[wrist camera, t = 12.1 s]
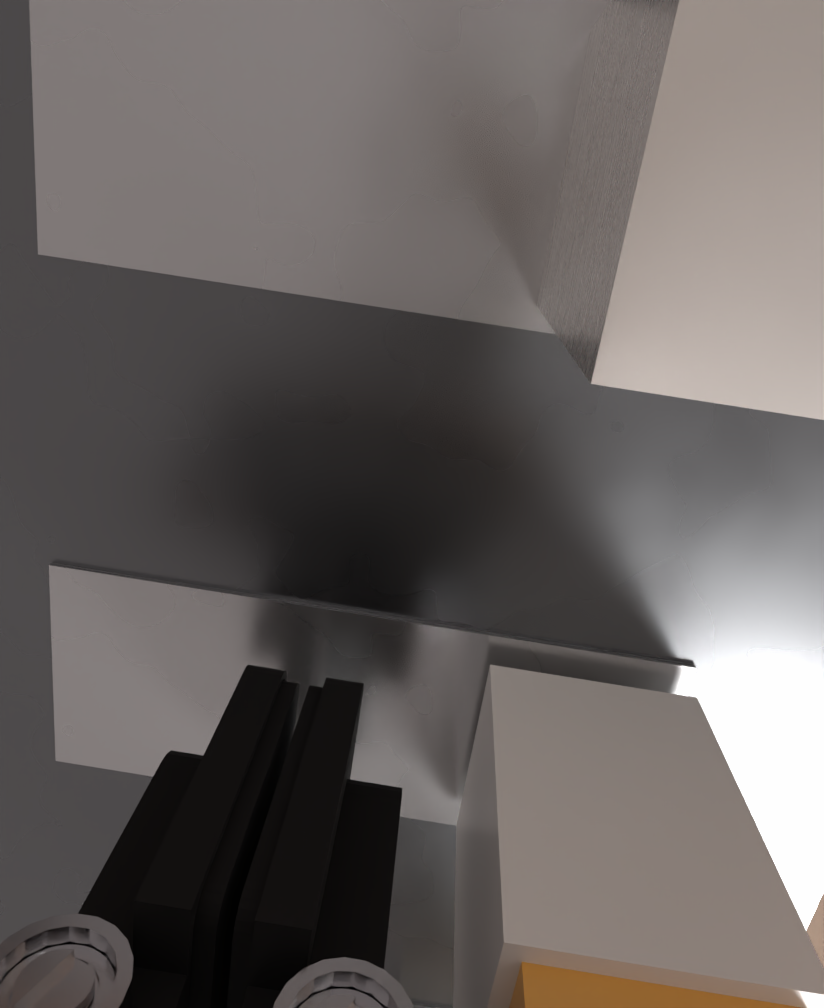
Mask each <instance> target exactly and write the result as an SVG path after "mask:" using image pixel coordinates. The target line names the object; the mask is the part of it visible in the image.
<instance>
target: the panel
mask: <svg viewBox="0 0 824 1008" xmlns="http://www.w3.org/2000/svg"><path fill="white" fill-rule="evenodd" d="M247 665H254V666H261V667H267V668H273V669H279V670H285V671H286V672H287V681H288V682H294V683H299V697H298V706H297V714H296V723H295V727H296V724H297V721H298V718H299V715H300V712H301V709H302V706H303V703H304V700H305V697H306V694H307V690H308V688H309V686H310V685H312V686H318V687H323V686H324V682H325V679H326V678H327V677H328V678H334V679H341V680H347V681H353V682H359V683H364V689H363V696H362V703H361V709H360V716H359V723H358V730H357V736H356V743H355V750H354V757H353V764H352V770H351V777H350V779H351V780H357V781H363V782H369V783H375V784H381V785H388V786H394V787H400V788H402V800H401V809H400V819H399V829H398V838H397V848H396V858H395V867H394V877H393V887H392V896H391V906H390V916H389V925H388V935H387V944H386V954H385V964H384V970H386V971H387V972H388V973H389V974H390V975H391V976H392V977H393V978H394V979H395V980H396V981H398V982H399V983H400V984H401V985H402V987H403V988H404V990H405V992H406V993H407V995H408V997H409V998H410V1000H411V1002H412V1003H413V1006H414V1008H453V988H454V932H455V876H456V825H457V820H458V815H459V810H460V806H461V801H462V796H463V791H464V787H465V782H466V777H467V772H468V768H469V763H470V758H471V753H472V748H473V744H474V739H475V734H476V729H477V725H478V720H479V715H480V710H481V706H482V701H483V696H484V691H485V687H486V682H487V677H488V672H489V668H490V665H496V666H502V667H508V668H515V669H521V670H527V671H534V672H540V673H546V674H552V675H559V676H565V677H571V678H577V679H584V680H590V681H596V682H602V683H609V684H615V685H621V686H628V687H634V688H640V689H646V690H653V691H659V692H665V693H671V694H678V695H684V696H690V697H696V698H697V699H698V701H699V703H700V705H701V707H702V709H703V711H704V714H705V716H706V718H707V720H708V722H709V724H710V726H711V728H712V731H713V733H714V735H715V737H716V739H717V741H718V743H719V746H720V748H721V750H722V752H723V754H724V756H725V758H726V761H727V763H728V765H729V767H730V769H731V771H732V773H733V775H734V778H735V780H736V782H737V784H738V786H739V788H740V790H741V793H742V795H743V797H744V799H745V801H746V803H747V805H748V808H749V810H750V812H751V814H752V816H753V818H754V820H755V822H756V825H757V827H758V829H759V831H760V833H761V835H762V837H763V840H764V842H765V844H766V846H767V848H768V850H769V852H770V855H771V857H772V859H773V861H774V863H775V865H776V867H777V869H778V872H779V874H780V876H781V878H782V880H783V882H784V884H785V887H786V889H787V891H788V893H789V895H790V897H791V899H792V902H793V904H794V906H795V908H796V910H797V912H798V914H799V916H800V919H801V921H802V923H803V925H804V927H805V929H806V930H807V928H808V926H809V923H810V921H811V919H812V917H813V915H814V912H815V910H816V908H817V906H818V904H819V901H820V899H821V897H822V895H823V893H824V0H0V944H1V943H2V942H3V941H4V940H5V939H6V938H7V937H9V936H11V935H12V934H14V933H16V932H17V931H19V930H21V929H22V928H24V927H26V926H27V925H29V924H31V923H34V922H37V921H40V920H43V919H46V918H49V917H52V916H57V915H67V914H76V913H77V914H78V912H79V911H80V909H81V907H82V905H83V903H84V901H85V900H86V898H87V896H88V894H89V892H90V891H91V889H92V887H93V885H94V883H95V881H96V880H97V878H98V876H99V874H100V872H101V871H102V869H103V867H104V865H105V863H106V861H107V860H108V858H109V856H110V854H111V852H112V851H113V849H114V847H115V845H116V843H117V841H118V840H119V838H120V836H121V834H122V832H123V830H124V829H125V827H126V825H127V823H128V821H129V820H130V818H131V816H132V814H133V812H134V810H135V809H136V807H137V805H138V803H139V801H140V800H141V798H142V796H143V794H144V792H145V790H146V789H147V787H148V785H149V783H150V781H151V780H152V778H153V776H154V774H155V772H156V770H157V769H158V767H159V765H160V763H161V761H162V760H163V758H164V757H165V755H166V754H167V753H168V752H170V751H171V750H172V751H179V752H185V753H191V754H197V755H204V753H205V751H206V749H207V747H208V745H209V743H210V741H211V739H212V736H213V734H214V732H215V730H216V728H217V726H218V724H219V722H220V720H221V718H222V716H223V713H224V711H225V709H226V707H227V705H228V703H229V701H230V699H231V697H232V695H233V693H234V690H235V688H236V686H237V684H238V682H239V680H240V678H241V676H242V674H243V672H244V670H245V668H246V666H247Z"/></svg>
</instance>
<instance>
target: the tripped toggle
mask: <svg viewBox="0 0 824 1008" xmlns="http://www.w3.org/2000/svg"><path fill="white" fill-rule="evenodd" d="M453 1008H824V968H823V966H822V964H821V961H820V959H819V957H818V955H817V953H816V951H815V949H814V946H813V944H812V942H811V940H810V938H809V936H808V934H807V931H806V929H805V927H804V925H803V923H802V921H801V919H800V916H799V914H798V912H797V910H796V908H795V906H794V904H793V902H792V899H791V897H790V895H789V893H788V891H787V889H786V887H785V884H784V882H783V880H782V878H781V876H780V874H779V872H778V869H777V867H776V865H775V863H774V861H773V859H772V857H771V855H770V852H769V850H768V848H767V846H766V844H765V842H764V840H763V837H762V835H761V833H760V831H759V829H758V827H757V825H756V822H755V820H754V818H753V816H752V814H751V812H750V810H749V808H748V805H747V803H746V801H745V799H744V797H743V795H742V793H741V790H740V788H739V786H738V784H737V782H736V780H735V778H734V775H733V773H732V771H731V769H730V767H729V765H728V763H727V761H726V758H725V756H724V754H723V752H722V750H721V748H720V746H719V743H718V741H717V739H716V737H715V735H714V733H713V731H712V728H711V726H710V724H709V722H708V720H707V718H706V716H705V714H704V711H703V709H702V707H701V705H700V703H699V701H698V699H697V698H696V697H690V696H684V695H678V694H671V693H665V692H659V691H653V690H646V689H640V688H634V687H628V686H621V685H615V684H609V683H602V682H596V681H590V680H584V679H577V678H571V677H565V676H559V675H552V674H546V673H540V672H534V671H527V670H521V669H515V668H508V667H502V666H496V665H490V668H489V672H488V677H487V682H486V687H485V691H484V696H483V701H482V706H481V710H480V715H479V720H478V725H477V729H476V734H475V739H474V744H473V748H472V753H471V758H470V763H469V768H468V772H467V777H466V782H465V787H464V791H463V796H462V801H461V806H460V810H459V815H458V820H457V825H456V876H455V932H454V988H453Z"/></svg>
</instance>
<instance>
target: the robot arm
mask: <svg viewBox="0 0 824 1008" xmlns="http://www.w3.org/2000/svg"><path fill="white" fill-rule="evenodd" d="M363 689H364V683H359V682H353V681H347V680H341V679H334V678H328V677H327V678H326V679H325V682H324V686H323V687H318V686H312V685H310V686H309V688H308V690H307V694H306V697H305V700H304V703H303V706H302V709H301V712H300V715H299V718H298V721H297V724H296V727H295V723H296V714H297V706H298V697H299V683H294V682H288V681H287V672H286V671H285V670H279V669H273V668H267V667H261V666H254V665H247V666H246V668H245V670H244V672H243V674H242V676H241V678H240V680H239V682H238V684H237V686H236V688H235V690H234V693H233V695H232V697H231V699H230V701H229V703H228V705H227V707H226V709H225V711H224V713H223V716H222V718H221V720H220V722H219V724H218V726H217V728H216V730H215V732H214V734H213V736H212V739H211V741H210V743H209V745H208V747H207V749H206V751H205V753H204V755H197V754H191V753H185V752H179V751H172V750H171V751H170V752H168V753H167V754H166V755H165V757H164V758H163V760H162V761H161V763H160V765H159V767H158V769H157V770H156V772H155V774H154V776H153V778H152V780H151V781H150V783H149V785H148V787H147V789H146V790H145V792H144V794H143V796H142V798H141V800H140V801H139V803H138V805H137V807H136V809H135V810H134V812H133V814H132V816H131V818H130V820H129V821H128V823H127V825H126V827H125V829H124V830H123V832H122V834H121V836H120V838H119V840H118V841H117V843H116V845H115V847H114V849H113V851H112V852H111V854H110V856H109V858H108V860H107V861H106V863H105V865H104V867H103V869H102V871H101V872H100V874H99V876H98V878H97V880H96V881H95V883H94V885H93V887H92V889H91V891H90V892H89V894H88V896H87V898H86V900H85V901H84V903H83V905H82V907H81V909H80V911H79V912H78V914H77V913H76V914H67V915H57V916H52V917H49V918H46V919H43V920H40V921H37V922H34V923H31V924H29V925H27V926H26V927H24V928H22V929H21V930H19V931H17V932H16V933H14V934H12V935H11V936H9V937H7V938H6V939H5V940H4V941H3V942H2V943H1V944H0V1008H414V1006H413V1003H412V1002H411V1000H410V998H409V997H408V995H407V993H406V992H405V990H404V988H403V987H402V985H401V984H400V983H399V982H398V981H396V980H395V979H394V978H393V977H392V976H391V975H390V974H389V973H388V972H387V971H386V970H384V964H385V954H386V944H387V935H388V925H389V916H390V906H391V896H392V887H393V877H394V867H395V858H396V848H397V838H398V829H399V819H400V809H401V800H402V788H400V787H394V786H388V785H381V784H375V783H369V782H363V781H357V780H351V779H350V777H351V770H352V764H353V757H354V750H355V743H356V736H357V730H358V723H359V716H360V709H361V703H362V696H363Z"/></svg>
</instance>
